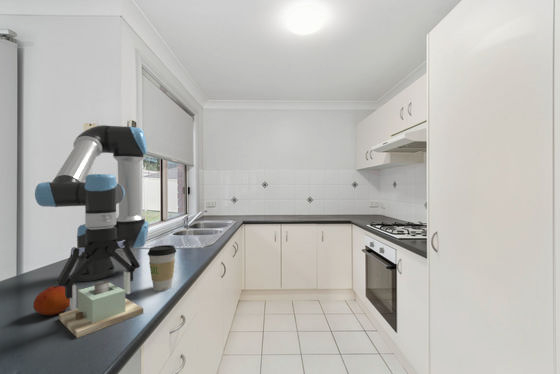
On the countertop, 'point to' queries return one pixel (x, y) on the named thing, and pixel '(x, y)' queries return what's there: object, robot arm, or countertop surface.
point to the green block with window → (101, 303)
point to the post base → (84, 326)
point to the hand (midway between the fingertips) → (102, 300)
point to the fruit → (51, 301)
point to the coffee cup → (162, 266)
